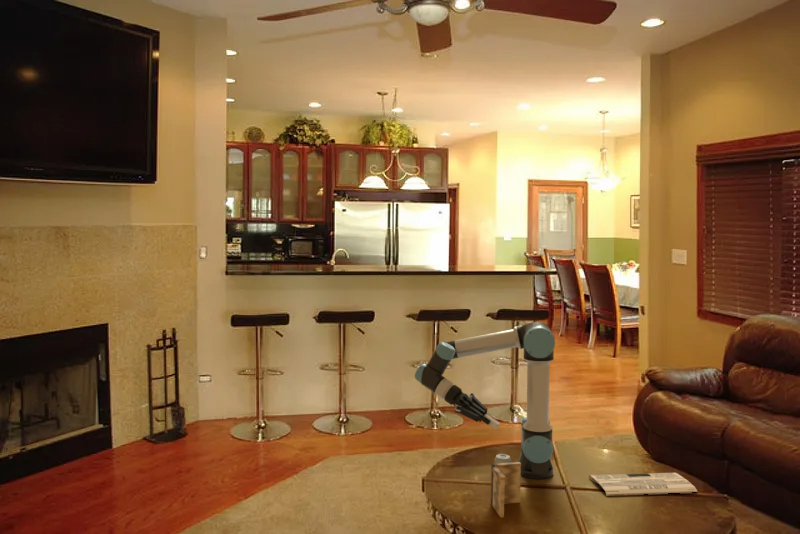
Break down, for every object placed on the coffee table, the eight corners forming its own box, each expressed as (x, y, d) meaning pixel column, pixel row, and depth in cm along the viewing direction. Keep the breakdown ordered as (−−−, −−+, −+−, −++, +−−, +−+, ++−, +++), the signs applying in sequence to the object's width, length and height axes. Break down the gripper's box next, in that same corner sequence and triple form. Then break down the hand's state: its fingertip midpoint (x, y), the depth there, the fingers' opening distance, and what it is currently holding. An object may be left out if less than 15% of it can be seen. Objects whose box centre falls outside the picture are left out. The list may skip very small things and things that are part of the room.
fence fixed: (491, 507, 239) (492, 467, 238) (496, 506, 240) (496, 467, 239) (500, 518, 230) (501, 477, 229) (504, 518, 231) (505, 477, 230)
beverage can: (511, 483, 263) (512, 454, 262) (508, 489, 257) (509, 459, 256) (495, 481, 265) (496, 452, 264) (492, 487, 259) (493, 457, 258)
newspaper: (674, 477, 272) (674, 470, 272) (699, 496, 253) (699, 489, 253) (588, 479, 269) (589, 473, 268) (608, 499, 249) (608, 492, 249)
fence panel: (491, 505, 240) (492, 465, 239) (490, 503, 242) (490, 463, 241) (520, 502, 242) (521, 463, 241) (518, 501, 244) (519, 461, 243)
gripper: (454, 391, 268) (502, 425, 259) (437, 405, 258) (487, 441, 249) (459, 378, 265) (508, 412, 255) (443, 392, 255) (493, 428, 245)
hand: (498, 426), depth 252 cm, fingers closed
